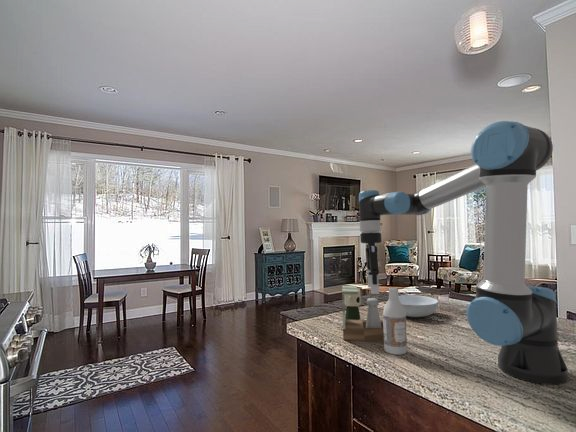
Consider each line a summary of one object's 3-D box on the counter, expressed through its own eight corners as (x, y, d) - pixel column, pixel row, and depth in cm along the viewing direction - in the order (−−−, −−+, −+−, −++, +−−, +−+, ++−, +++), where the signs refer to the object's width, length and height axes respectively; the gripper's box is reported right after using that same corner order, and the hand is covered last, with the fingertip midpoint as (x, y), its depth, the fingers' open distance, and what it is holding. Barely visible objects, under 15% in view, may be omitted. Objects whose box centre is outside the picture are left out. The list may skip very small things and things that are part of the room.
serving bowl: (409, 307, 160) (408, 293, 160) (448, 316, 142) (448, 300, 142) (379, 313, 149) (378, 298, 149) (418, 324, 131) (417, 307, 131)
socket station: (393, 342, 111) (391, 292, 112) (343, 340, 114) (342, 291, 115) (388, 331, 123) (387, 286, 124) (343, 329, 126) (342, 285, 127)
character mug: (359, 325, 132) (358, 292, 132) (341, 323, 134) (340, 291, 135) (363, 317, 142) (362, 288, 142) (347, 316, 144) (346, 287, 145)
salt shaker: (382, 337, 115) (381, 300, 115) (366, 336, 116) (364, 300, 116) (381, 332, 120) (380, 297, 121) (365, 331, 122) (364, 296, 122)
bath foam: (391, 356, 99) (389, 290, 100) (380, 348, 106) (378, 287, 107) (411, 354, 101) (409, 289, 101) (399, 346, 107) (397, 285, 108)
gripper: (385, 231, 107) (388, 296, 106) (377, 232, 131) (380, 284, 130) (362, 232, 108) (365, 296, 107) (358, 232, 133) (361, 284, 131)
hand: (373, 290), depth 118 cm, fingers open, 13 cm apart
